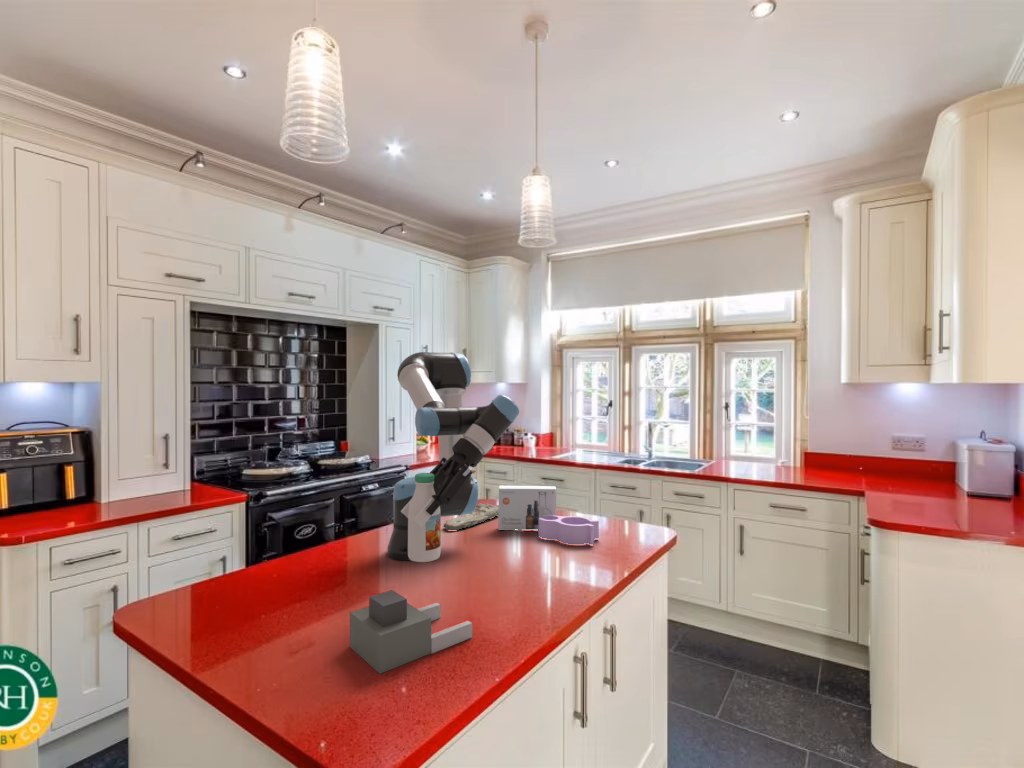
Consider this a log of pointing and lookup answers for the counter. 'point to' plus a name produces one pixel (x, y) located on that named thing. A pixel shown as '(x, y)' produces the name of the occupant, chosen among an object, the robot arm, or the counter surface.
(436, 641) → the stacked grey blocks
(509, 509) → the skincare box
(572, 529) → the clip
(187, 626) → the counter surface
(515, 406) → the robot arm
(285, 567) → the counter surface
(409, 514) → the milk bottle
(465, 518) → the long grey stone
